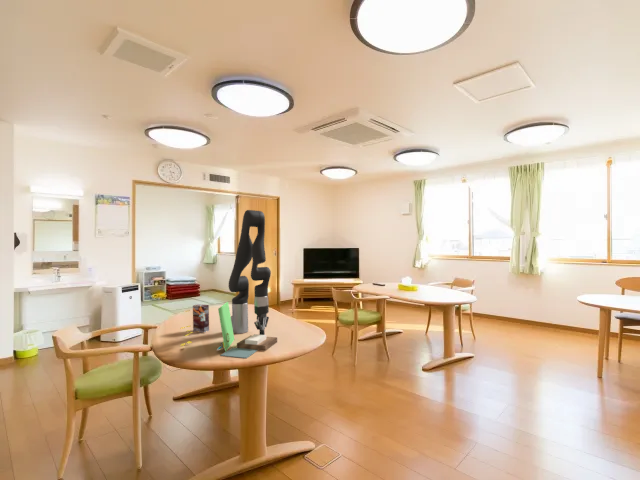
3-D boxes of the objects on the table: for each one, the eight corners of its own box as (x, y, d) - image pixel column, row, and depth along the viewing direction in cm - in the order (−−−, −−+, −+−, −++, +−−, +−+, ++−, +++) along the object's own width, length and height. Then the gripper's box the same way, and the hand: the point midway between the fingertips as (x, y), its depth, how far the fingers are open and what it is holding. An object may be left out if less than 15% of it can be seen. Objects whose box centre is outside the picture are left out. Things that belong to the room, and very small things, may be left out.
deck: (237, 348, 169) (236, 343, 169) (250, 339, 182) (250, 335, 182) (265, 350, 164) (265, 345, 164) (277, 342, 177) (277, 337, 177)
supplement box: (192, 331, 200) (192, 305, 200) (198, 329, 205) (197, 303, 204) (204, 333, 197) (203, 306, 197) (209, 330, 201) (209, 304, 201)
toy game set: (189, 347, 182) (182, 304, 182) (235, 339, 183) (228, 296, 183) (174, 361, 160) (166, 313, 160) (226, 352, 162) (218, 303, 162)
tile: (245, 343, 168) (244, 339, 168) (254, 337, 177) (254, 334, 177) (257, 344, 165) (257, 340, 165) (266, 338, 175) (266, 335, 175)
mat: (220, 355, 158) (220, 355, 158) (232, 348, 169) (232, 347, 169) (246, 358, 154) (246, 357, 154) (257, 350, 164) (257, 349, 164)
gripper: (260, 301, 185) (261, 332, 185) (249, 306, 172) (249, 339, 172) (273, 302, 183) (273, 333, 183) (262, 307, 170) (262, 340, 170)
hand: (262, 336), depth 177 cm, fingers closed
